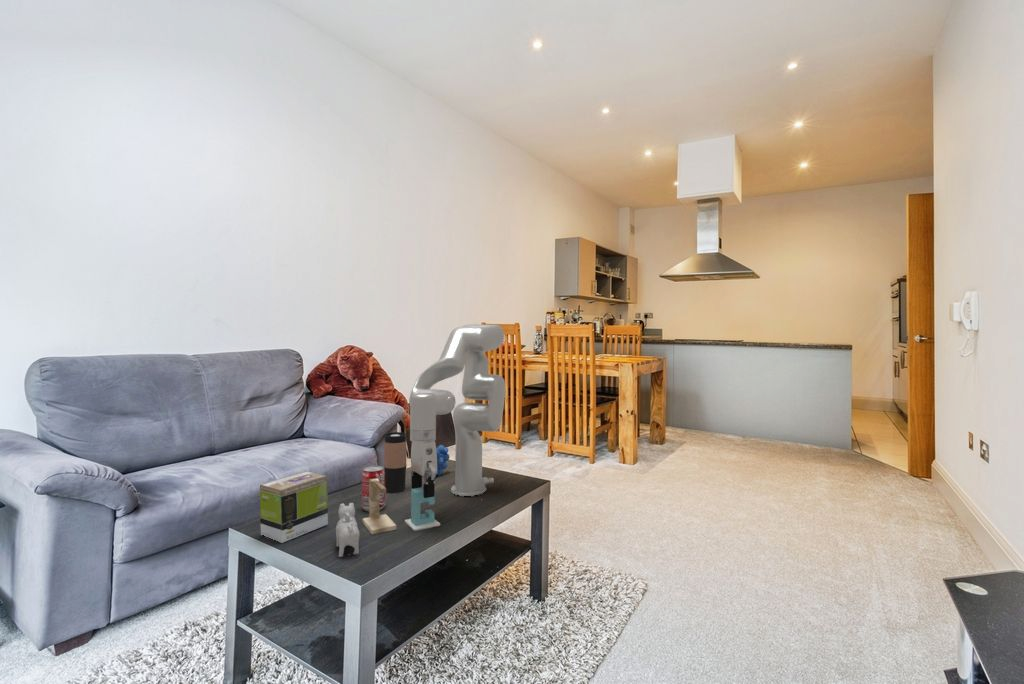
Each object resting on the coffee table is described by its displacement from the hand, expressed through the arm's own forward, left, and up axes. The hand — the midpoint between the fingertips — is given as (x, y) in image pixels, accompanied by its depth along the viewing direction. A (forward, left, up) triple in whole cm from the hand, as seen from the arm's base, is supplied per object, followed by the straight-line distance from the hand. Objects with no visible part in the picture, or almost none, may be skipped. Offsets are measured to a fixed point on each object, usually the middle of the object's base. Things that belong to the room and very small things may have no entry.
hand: (422, 492), depth 143 cm
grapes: (-23, -44, -9) cm, 50 cm away
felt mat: (0, 0, -9) cm, 9 cm away
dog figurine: (+23, +5, -10) cm, 25 cm away
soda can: (+9, -20, -9) cm, 23 cm away
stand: (+11, -4, -9) cm, 15 cm away
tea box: (+33, -14, -10) cm, 37 cm away
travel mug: (-3, -34, -9) cm, 36 cm away
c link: (0, 0, -9) cm, 9 cm away
